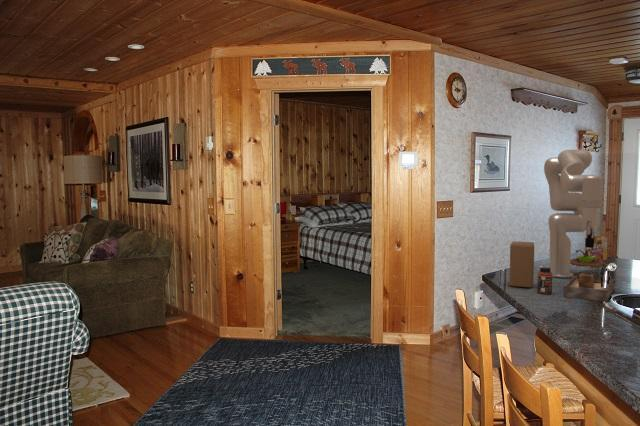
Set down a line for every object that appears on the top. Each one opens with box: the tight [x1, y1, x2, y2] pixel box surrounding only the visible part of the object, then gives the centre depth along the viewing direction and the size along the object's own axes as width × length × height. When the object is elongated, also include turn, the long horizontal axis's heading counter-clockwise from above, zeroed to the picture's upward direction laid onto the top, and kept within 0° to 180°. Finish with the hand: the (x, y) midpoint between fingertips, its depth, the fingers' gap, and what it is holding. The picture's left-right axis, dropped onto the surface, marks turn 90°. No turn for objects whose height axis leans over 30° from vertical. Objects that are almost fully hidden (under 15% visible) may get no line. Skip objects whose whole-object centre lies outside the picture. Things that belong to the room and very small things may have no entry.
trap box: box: [563, 274, 615, 303], centre depth 216 cm, size 16×28×4 cm, turn 145°
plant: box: [570, 247, 607, 268], centre depth 282 cm, size 20×20×11 cm
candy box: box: [588, 235, 608, 261], centre depth 294 cm, size 9×4×15 cm, turn 29°
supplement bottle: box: [536, 266, 553, 295], centre depth 216 cm, size 6×6×11 cm
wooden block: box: [509, 240, 535, 289], centre depth 232 cm, size 10×10×20 cm
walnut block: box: [578, 272, 595, 289], centre depth 210 cm, size 5×5×6 cm
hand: (589, 247), depth 214 cm, fingers closed
